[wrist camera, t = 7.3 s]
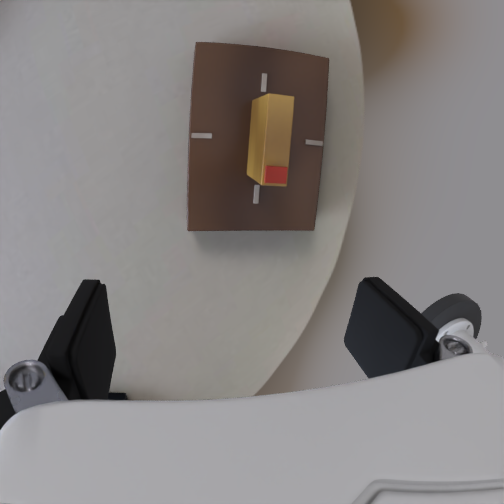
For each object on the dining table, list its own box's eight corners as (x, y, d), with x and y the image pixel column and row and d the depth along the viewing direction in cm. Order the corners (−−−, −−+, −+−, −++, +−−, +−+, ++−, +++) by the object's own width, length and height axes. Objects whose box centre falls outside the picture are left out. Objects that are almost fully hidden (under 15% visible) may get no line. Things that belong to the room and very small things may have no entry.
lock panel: (314, 64, 23) (330, 57, 20) (301, 220, 28) (315, 231, 25) (194, 51, 21) (196, 41, 18) (186, 220, 26) (187, 232, 23)
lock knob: (252, 99, 20) (269, 92, 16) (273, 102, 21) (296, 96, 16) (246, 174, 22) (261, 186, 18) (267, 175, 23) (288, 187, 18)
